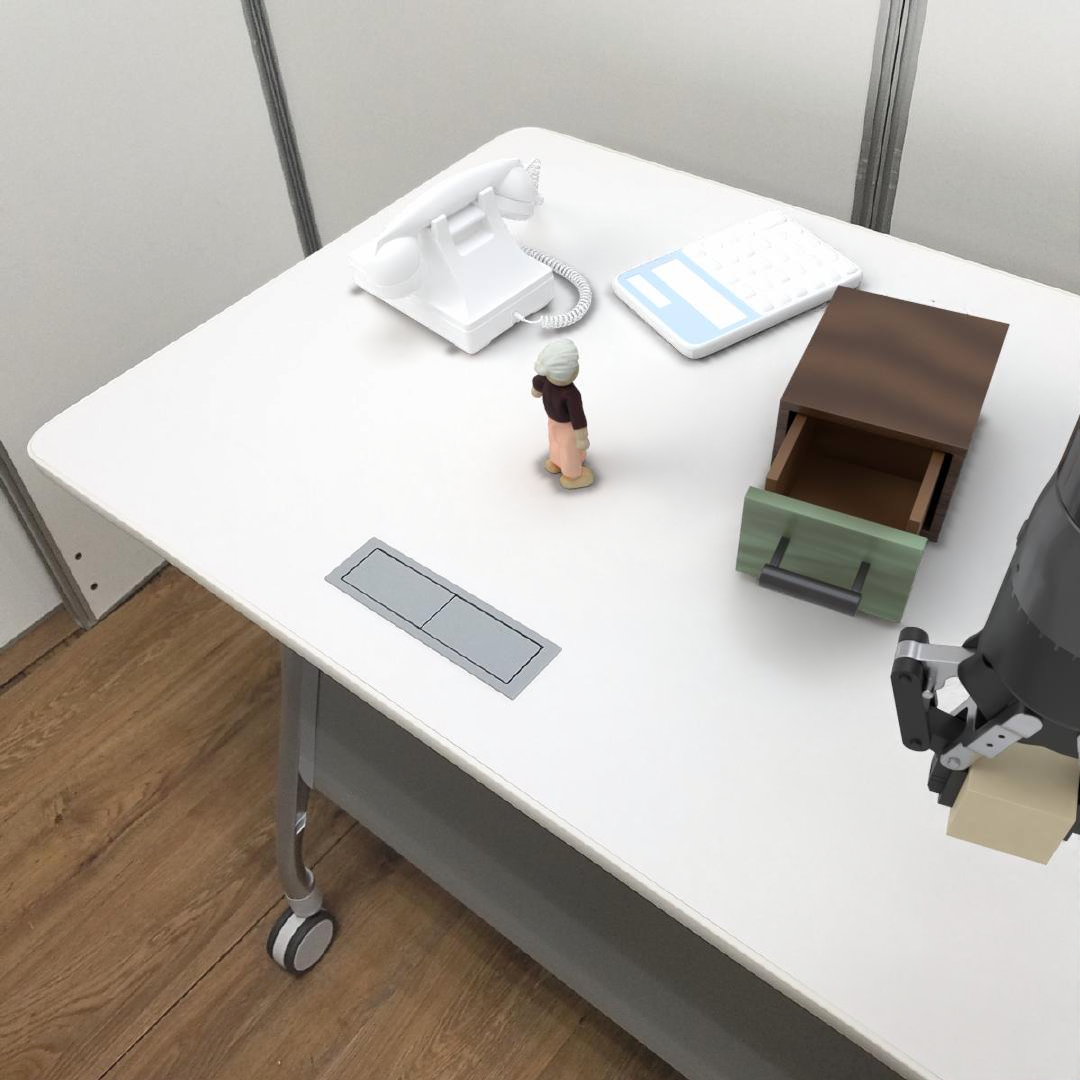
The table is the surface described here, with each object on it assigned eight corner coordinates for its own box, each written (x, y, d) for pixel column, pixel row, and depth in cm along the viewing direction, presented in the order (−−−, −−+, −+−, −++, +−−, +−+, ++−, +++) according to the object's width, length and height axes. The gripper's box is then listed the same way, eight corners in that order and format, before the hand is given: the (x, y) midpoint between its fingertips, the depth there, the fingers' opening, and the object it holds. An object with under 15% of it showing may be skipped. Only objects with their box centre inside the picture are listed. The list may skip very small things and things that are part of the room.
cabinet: (936, 542, 81) (968, 449, 74) (766, 492, 85) (780, 399, 78) (978, 418, 89) (1010, 323, 82) (821, 377, 94) (838, 284, 86)
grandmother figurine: (616, 479, 87) (615, 354, 78) (581, 504, 86) (576, 380, 76) (551, 432, 91) (543, 308, 82) (516, 455, 90) (504, 331, 80)
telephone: (505, 193, 115) (495, 78, 106) (656, 268, 105) (660, 148, 96) (319, 305, 104) (289, 188, 95) (468, 401, 94) (451, 280, 85)
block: (1054, 782, 53) (1083, 734, 50) (1046, 865, 51) (1076, 821, 47) (958, 755, 55) (980, 707, 51) (945, 835, 52) (967, 789, 48)
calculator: (866, 286, 102) (869, 268, 100) (690, 366, 96) (691, 348, 94) (774, 220, 109) (776, 203, 108) (606, 290, 103) (606, 273, 102)
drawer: (883, 671, 73) (906, 599, 67) (714, 614, 77) (722, 541, 71) (944, 492, 83) (969, 416, 77) (792, 450, 87) (804, 374, 81)
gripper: (902, 612, 39) (836, 828, 52) (1357, 725, 35) (1163, 929, 48) (933, 469, 44) (865, 701, 57) (1340, 554, 40) (1167, 783, 53)
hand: (1003, 805), depth 52 cm, fingers closed on block, 4 cm apart
